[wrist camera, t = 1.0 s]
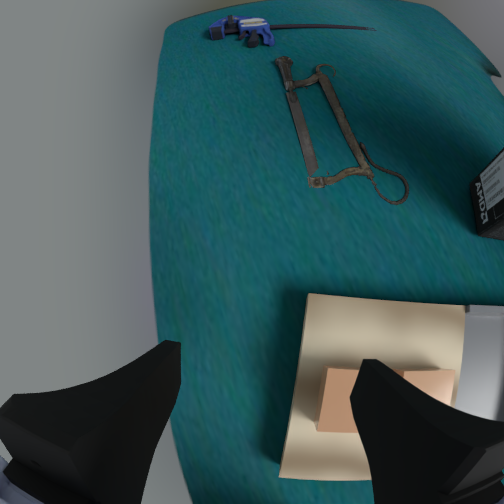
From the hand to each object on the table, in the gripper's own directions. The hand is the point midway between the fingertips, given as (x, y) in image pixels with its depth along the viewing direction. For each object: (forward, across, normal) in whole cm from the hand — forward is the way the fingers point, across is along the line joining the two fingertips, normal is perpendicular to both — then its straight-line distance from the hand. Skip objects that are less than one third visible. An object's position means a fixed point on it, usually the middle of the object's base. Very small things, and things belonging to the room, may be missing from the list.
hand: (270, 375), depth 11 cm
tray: (+7, -22, +7) cm, 25 cm away
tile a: (+7, -7, +7) cm, 12 cm away
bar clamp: (+34, -4, -34) cm, 48 cm away
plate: (+9, -10, +8) cm, 16 cm away
